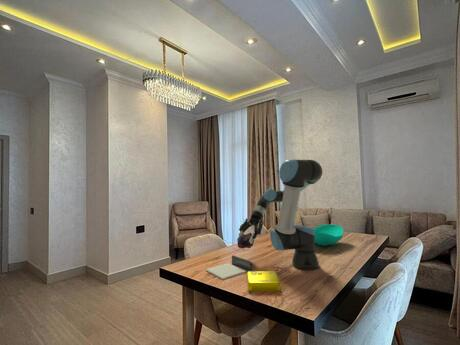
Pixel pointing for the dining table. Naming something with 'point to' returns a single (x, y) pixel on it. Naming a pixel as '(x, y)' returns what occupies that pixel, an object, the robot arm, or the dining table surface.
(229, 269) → the felt mat
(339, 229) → the table top decor
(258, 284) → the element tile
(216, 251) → the dining table surface
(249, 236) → the rock
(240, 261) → the metal rail
